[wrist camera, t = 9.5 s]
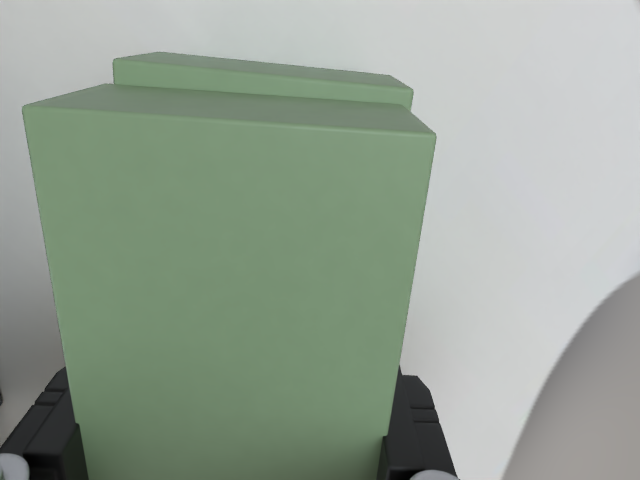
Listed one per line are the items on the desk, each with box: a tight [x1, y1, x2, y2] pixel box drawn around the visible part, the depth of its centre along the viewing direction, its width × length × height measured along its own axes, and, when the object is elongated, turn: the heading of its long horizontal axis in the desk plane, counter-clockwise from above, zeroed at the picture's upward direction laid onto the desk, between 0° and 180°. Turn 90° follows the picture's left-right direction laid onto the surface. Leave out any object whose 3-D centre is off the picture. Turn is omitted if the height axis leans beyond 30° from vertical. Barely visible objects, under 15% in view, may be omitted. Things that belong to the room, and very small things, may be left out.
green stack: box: [113, 52, 413, 111], centre depth 15 cm, size 14×6×6 cm, turn 177°
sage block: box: [22, 84, 436, 480], centre depth 11 cm, size 14×6×3 cm, turn 176°
